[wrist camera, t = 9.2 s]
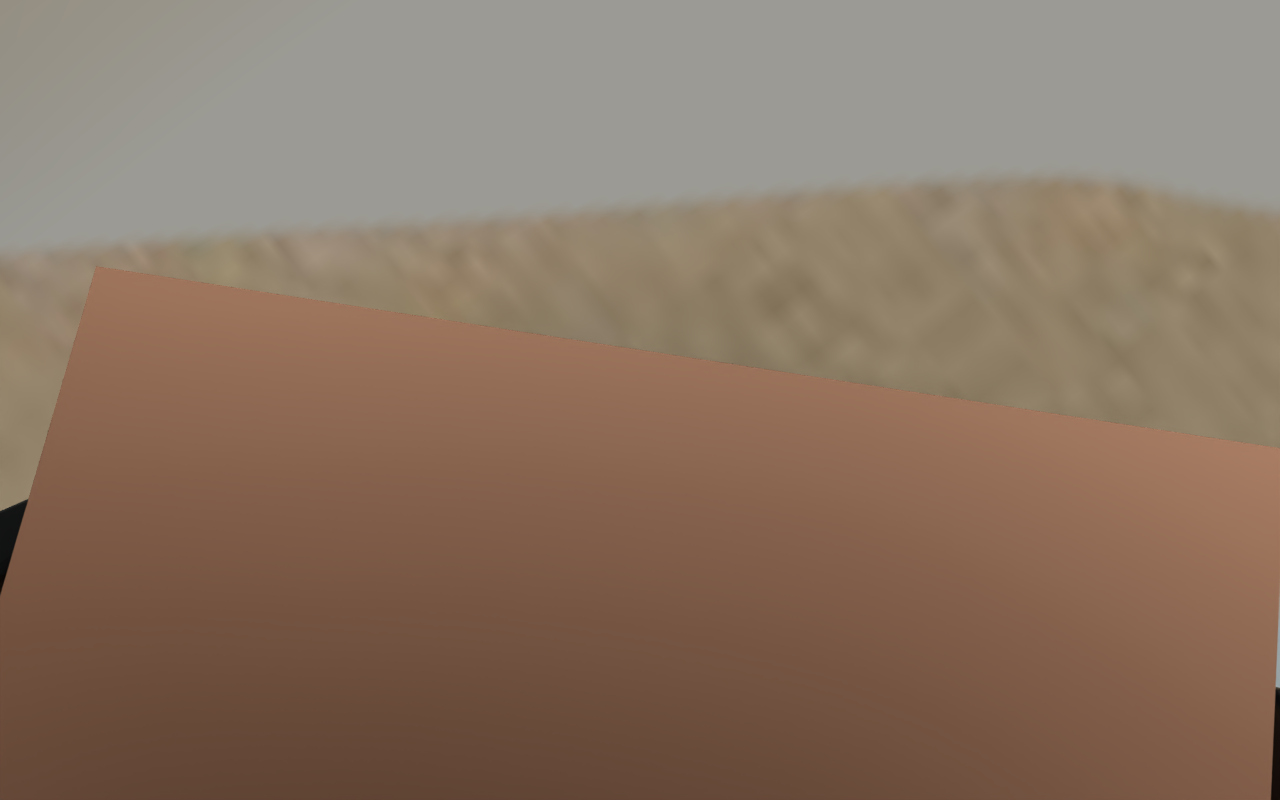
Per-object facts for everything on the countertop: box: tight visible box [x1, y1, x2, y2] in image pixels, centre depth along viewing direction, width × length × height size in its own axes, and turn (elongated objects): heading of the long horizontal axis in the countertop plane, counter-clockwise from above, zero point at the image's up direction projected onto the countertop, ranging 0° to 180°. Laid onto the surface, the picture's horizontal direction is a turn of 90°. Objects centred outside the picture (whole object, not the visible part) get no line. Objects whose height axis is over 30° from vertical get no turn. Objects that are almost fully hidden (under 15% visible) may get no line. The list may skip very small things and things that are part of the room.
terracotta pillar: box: [0, 266, 1280, 800], centre depth 10 cm, size 4×4×12 cm
